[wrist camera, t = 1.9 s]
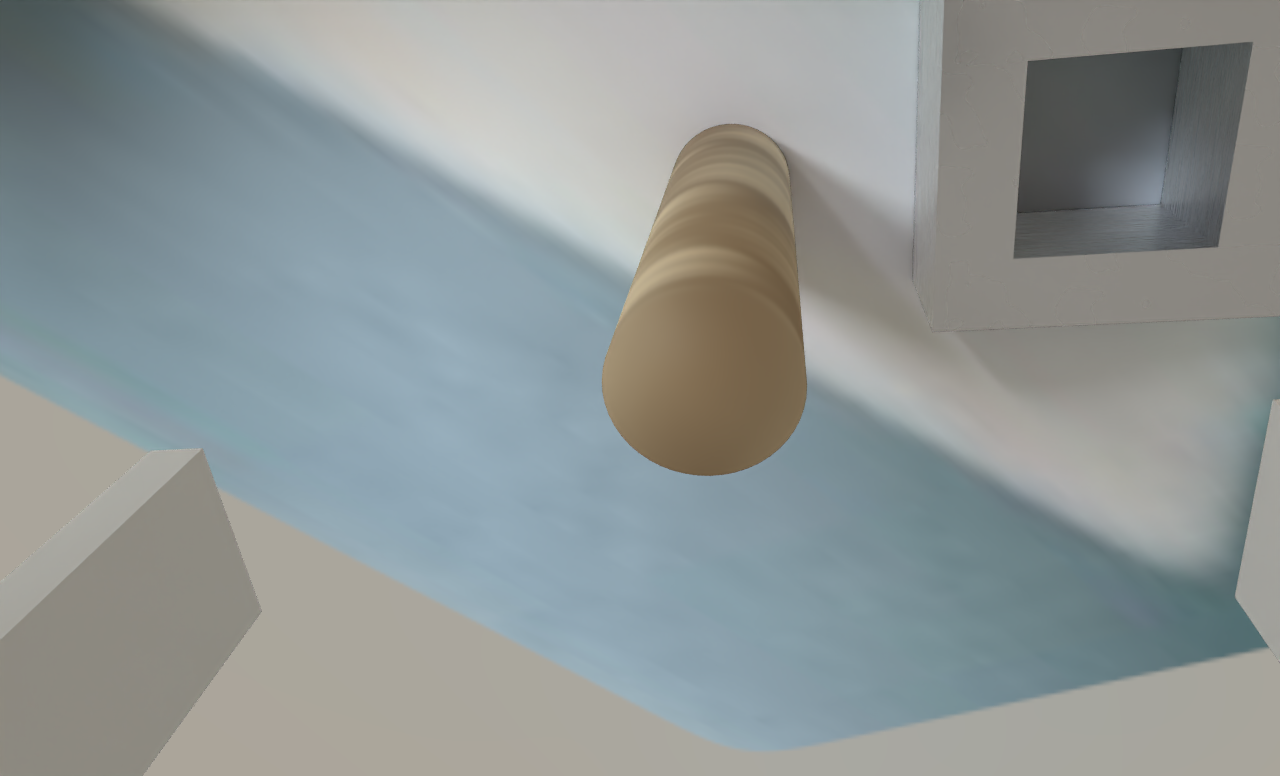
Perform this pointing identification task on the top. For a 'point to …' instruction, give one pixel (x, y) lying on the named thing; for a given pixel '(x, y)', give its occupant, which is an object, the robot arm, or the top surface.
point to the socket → (1099, 237)
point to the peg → (713, 314)
